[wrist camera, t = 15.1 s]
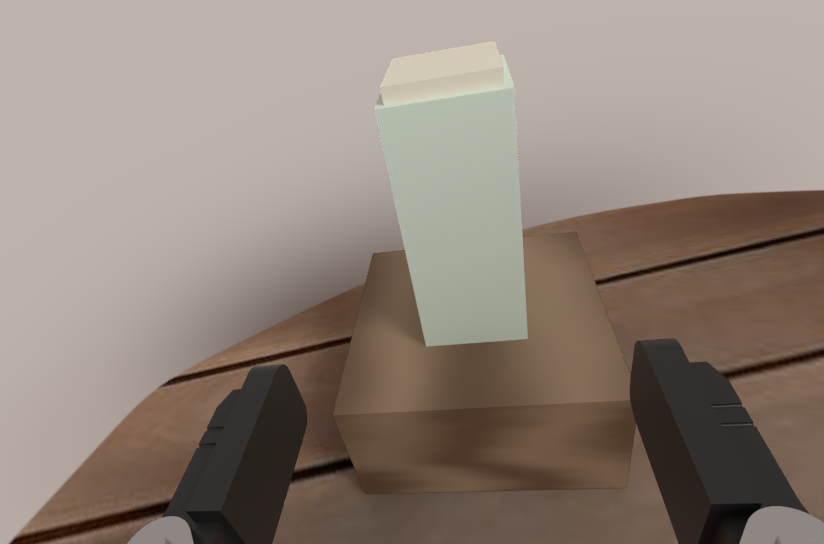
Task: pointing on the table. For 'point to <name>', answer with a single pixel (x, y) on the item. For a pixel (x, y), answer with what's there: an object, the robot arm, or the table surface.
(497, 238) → the sage tin
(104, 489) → the table surface
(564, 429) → the walnut block
